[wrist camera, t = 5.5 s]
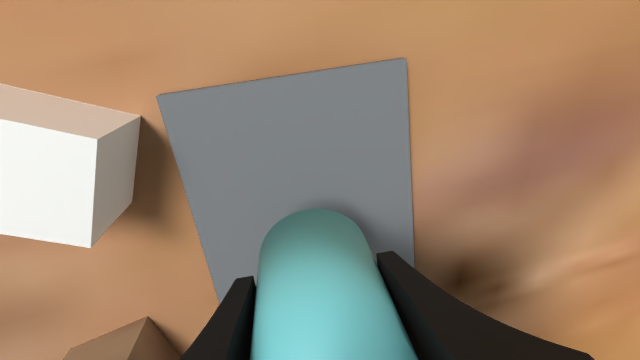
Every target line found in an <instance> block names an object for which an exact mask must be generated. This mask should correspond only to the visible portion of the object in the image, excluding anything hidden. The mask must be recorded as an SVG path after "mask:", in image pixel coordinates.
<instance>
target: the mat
mask: <svg viewBox="0 0 640 360" xmlns="http://www.w3.org/2000/svg"><path fill="white" fill-rule="evenodd" d="M156 98H157V101H158V105H159V108H160V111H161V114H162V118H163V121H164V124H165V128H166V131H167V134H168V137H169V141H170V144H171V147H172V150H173V154H174V157H175V160H176V163H177V167H178V170H179V173H180V176H181V180H182V183H183V186H184V189H185V193H186V196H187V199H188V202H189V206H190V209H191V212H192V215H193V219H194V222H195V225H196V229H197V232H198V235H199V238H200V242H201V245H202V248H203V251H204V255H205V258H206V261H207V264H208V268H209V271H210V274H211V277H212V281H213V284H214V287H215V290H216V294H217V297H218V300H219V303H221V302H222V300H223V299H224V297H225V295H226V294H227V292H228V290H229V289H230V287H231V285H232V284H233V282H234V281H235V279H236V278H242V277H247V276H253V277H254V281H255V284H256V285H257V274H258V263H259V253H260V248H261V245H262V242H263V240H264V238H265V236H266V235H267V233H268V232H269V230H270V229H271V228H272V227H273V226H274V225H275V224H276V223H277V222H279V221H280V220H282V219H283V218H284V217H286V216H288V215H290V214H293V213H295V212H298V211H302V210H307V209H327V210H332V211H335V212H338V213H341V214H343V215H345V216H346V217H348V218H349V219H351V220H352V221H353V222H354V223H355V224H356V225H357V226H358V227H359V228H360V230H361V231H362V233H363V235H364V236H365V239H366V241H367V243H368V246H369V248H370V250H371V252H372V255H373V257H374V259H375V262H376V264H377V258H376V253H382V252H387V251H394V252H395V253H397V254H398V255H399V256H400V257H401V258H402V259H404V260H405V261H406V262H407V263H408V264H409V265H411V266H412V267H413V268H414V269H415V264H414V239H413V214H412V189H411V164H410V138H409V113H408V88H407V63H406V58H396V59H390V60H383V61H376V62H370V63H363V64H356V65H350V66H343V67H337V68H330V69H323V70H317V71H310V72H303V73H297V74H290V75H284V76H277V77H270V78H264V79H257V80H250V81H244V82H237V83H231V84H224V85H217V86H211V87H204V88H198V89H191V90H184V91H178V92H171V93H164V94H160V95H157V96H156Z"/></svg>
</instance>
